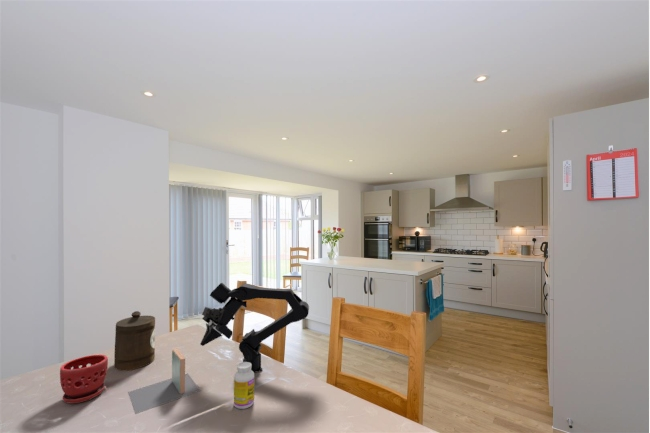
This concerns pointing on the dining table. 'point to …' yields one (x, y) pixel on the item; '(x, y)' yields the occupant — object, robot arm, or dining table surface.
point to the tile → (178, 370)
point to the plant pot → (83, 378)
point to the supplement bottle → (244, 386)
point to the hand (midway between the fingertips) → (201, 345)
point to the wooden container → (134, 342)
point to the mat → (160, 394)
